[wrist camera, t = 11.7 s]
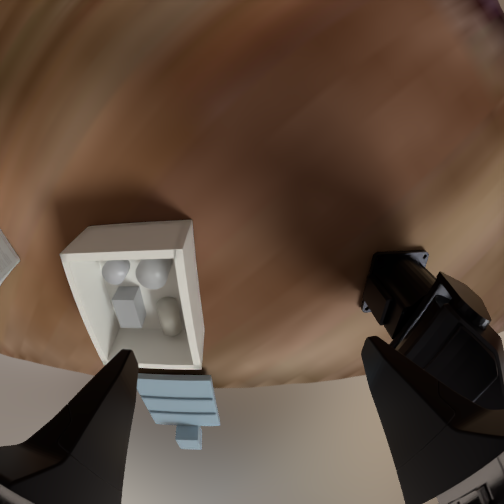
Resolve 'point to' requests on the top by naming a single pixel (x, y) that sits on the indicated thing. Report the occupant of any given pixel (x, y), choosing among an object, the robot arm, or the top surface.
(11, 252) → the supplement box
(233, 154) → the top surface
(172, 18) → the top surface
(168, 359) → the tub
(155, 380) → the light blue tapered piece
